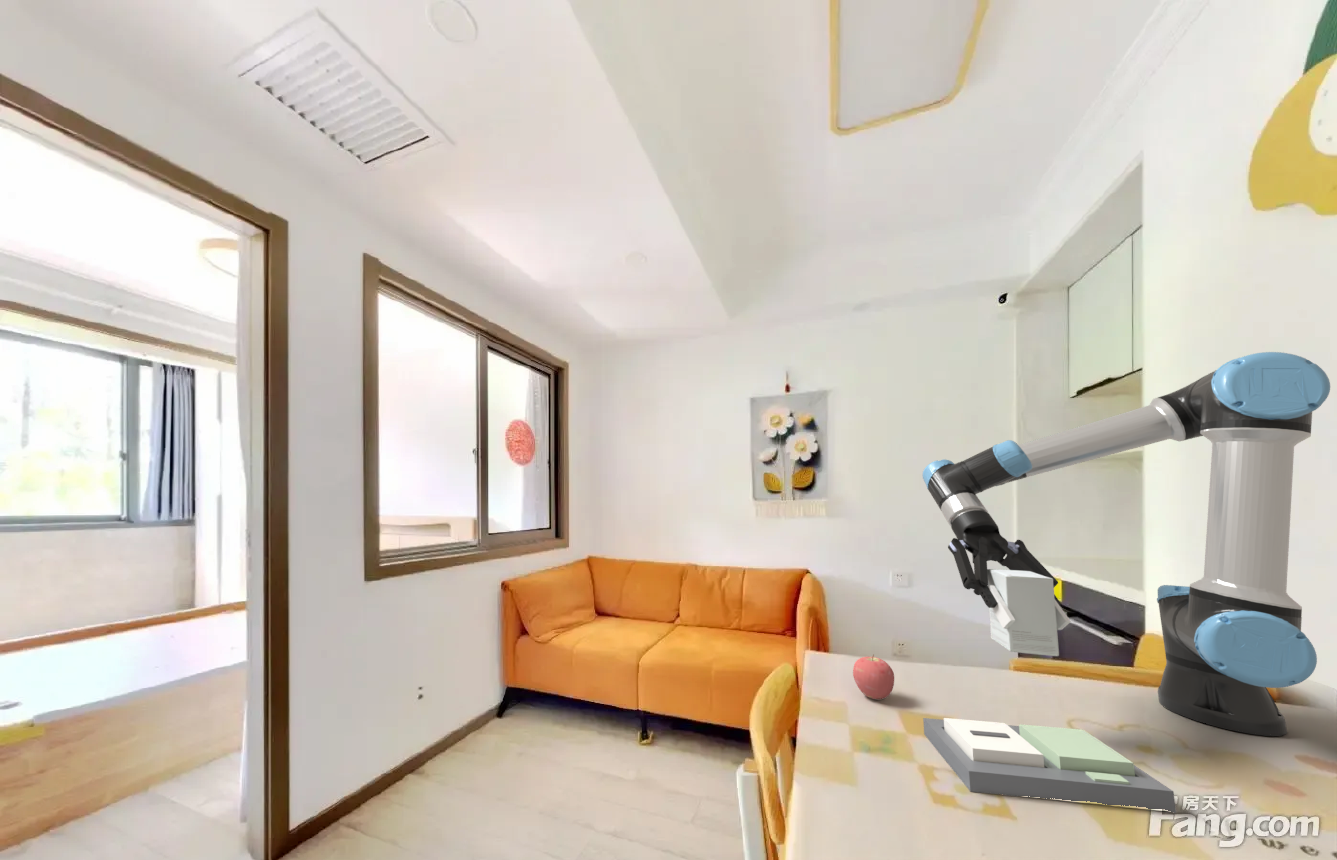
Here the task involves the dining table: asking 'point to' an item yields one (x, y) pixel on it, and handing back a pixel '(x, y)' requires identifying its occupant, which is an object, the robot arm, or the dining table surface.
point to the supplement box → (1025, 612)
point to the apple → (873, 677)
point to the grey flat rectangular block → (1032, 768)
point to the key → (1076, 750)
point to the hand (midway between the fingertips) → (1036, 625)
